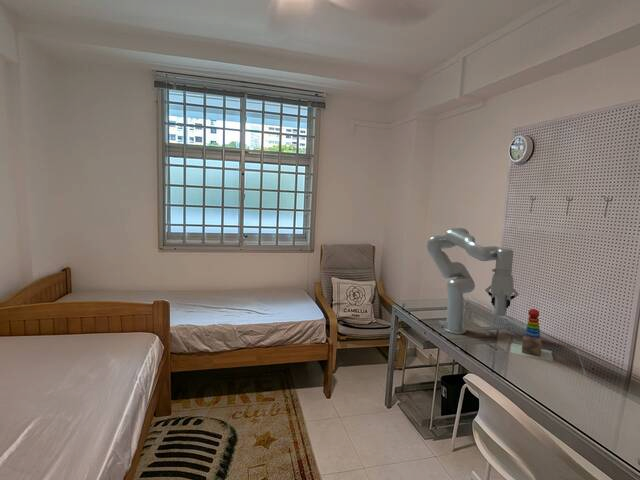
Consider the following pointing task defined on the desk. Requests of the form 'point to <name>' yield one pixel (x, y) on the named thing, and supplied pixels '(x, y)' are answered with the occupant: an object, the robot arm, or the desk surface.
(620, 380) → the desk surface
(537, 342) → the walnut block
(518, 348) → the base board
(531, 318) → the stacking toy
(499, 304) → the energy drink can
